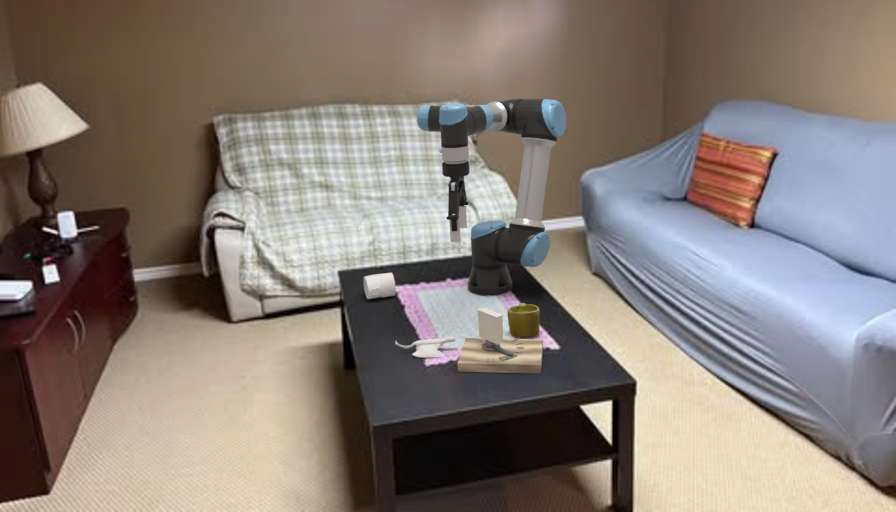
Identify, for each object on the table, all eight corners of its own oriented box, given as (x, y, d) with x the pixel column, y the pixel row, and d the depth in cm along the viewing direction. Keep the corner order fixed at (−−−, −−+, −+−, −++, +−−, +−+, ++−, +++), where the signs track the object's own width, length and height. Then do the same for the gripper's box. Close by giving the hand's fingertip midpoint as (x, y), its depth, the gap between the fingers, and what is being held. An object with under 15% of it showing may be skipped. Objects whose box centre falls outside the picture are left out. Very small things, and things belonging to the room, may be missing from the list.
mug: (544, 336, 219) (533, 303, 219) (510, 345, 222) (499, 312, 222) (550, 327, 231) (540, 296, 231) (517, 336, 234) (508, 304, 234)
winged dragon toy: (392, 361, 214) (391, 348, 213) (393, 346, 224) (392, 333, 222) (457, 357, 214) (456, 344, 213) (455, 342, 224) (454, 329, 223)
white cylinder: (396, 299, 258) (395, 277, 256) (369, 303, 256) (367, 281, 254) (389, 288, 269) (388, 266, 267) (363, 291, 267) (361, 270, 265)
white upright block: (488, 340, 217) (487, 306, 214) (519, 354, 208) (518, 318, 205) (475, 346, 214) (473, 311, 211) (505, 360, 205) (504, 323, 202)
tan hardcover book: (465, 346, 220) (465, 337, 220) (543, 347, 217) (543, 338, 216) (457, 371, 205) (457, 361, 205) (540, 373, 202) (540, 363, 201)
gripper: (448, 152, 225) (452, 222, 232) (434, 170, 202) (438, 247, 208) (474, 152, 224) (477, 222, 231) (462, 170, 201) (466, 247, 207)
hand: (459, 234), depth 220 cm, fingers open, 13 cm apart
